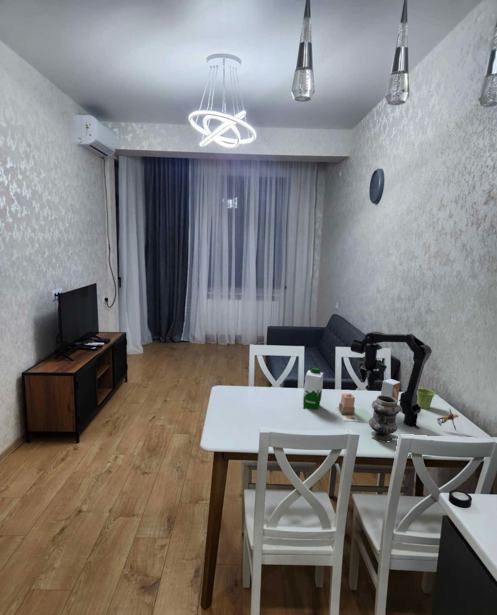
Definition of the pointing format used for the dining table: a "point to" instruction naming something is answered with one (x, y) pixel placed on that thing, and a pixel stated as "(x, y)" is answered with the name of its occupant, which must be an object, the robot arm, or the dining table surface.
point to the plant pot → (424, 398)
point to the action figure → (450, 417)
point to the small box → (391, 388)
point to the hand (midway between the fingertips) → (366, 385)
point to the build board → (356, 416)
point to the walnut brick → (346, 410)
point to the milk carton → (313, 389)
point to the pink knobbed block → (347, 400)
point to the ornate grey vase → (384, 418)
